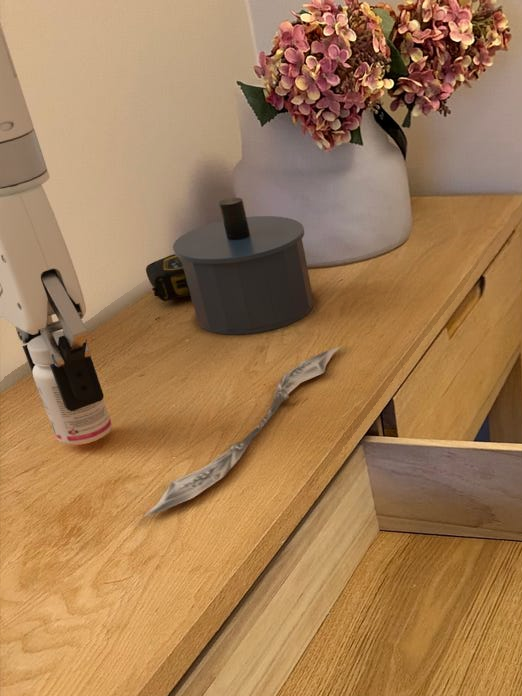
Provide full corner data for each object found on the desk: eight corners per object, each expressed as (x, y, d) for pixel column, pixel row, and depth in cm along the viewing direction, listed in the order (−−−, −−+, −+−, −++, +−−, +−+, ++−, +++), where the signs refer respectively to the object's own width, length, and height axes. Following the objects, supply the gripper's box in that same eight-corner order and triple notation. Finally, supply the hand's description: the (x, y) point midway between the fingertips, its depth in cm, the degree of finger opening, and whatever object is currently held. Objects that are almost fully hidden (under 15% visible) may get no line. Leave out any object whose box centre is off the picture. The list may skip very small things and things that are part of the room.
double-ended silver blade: (139, 519, 75) (196, 524, 74) (136, 512, 75) (194, 517, 73) (302, 347, 98) (348, 348, 97) (301, 341, 98) (347, 342, 97)
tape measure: (151, 290, 115) (141, 258, 113) (208, 278, 117) (200, 246, 115) (158, 309, 110) (148, 276, 108) (218, 296, 112) (210, 263, 110)
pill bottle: (124, 423, 87) (94, 330, 81) (91, 449, 83) (57, 354, 78) (79, 417, 88) (47, 326, 83) (45, 443, 85) (9, 349, 79)
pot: (177, 316, 108) (157, 246, 104) (273, 282, 114) (258, 215, 110) (236, 344, 101) (217, 271, 96) (335, 306, 107) (323, 235, 102)
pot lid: (152, 253, 104) (139, 207, 101) (261, 218, 110) (252, 175, 108) (217, 279, 96) (205, 231, 93) (331, 241, 102) (323, 194, 99)
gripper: (-101, 157, 75) (-10, 380, 87) (-19, 197, 65) (72, 444, 76) (-4, 136, 78) (71, 353, 90) (87, 170, 68) (158, 410, 80)
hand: (70, 392), depth 83 cm, fingers closed on pill bottle, 4 cm apart
